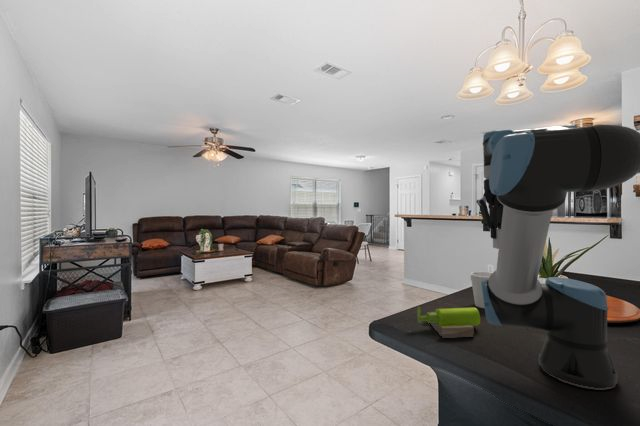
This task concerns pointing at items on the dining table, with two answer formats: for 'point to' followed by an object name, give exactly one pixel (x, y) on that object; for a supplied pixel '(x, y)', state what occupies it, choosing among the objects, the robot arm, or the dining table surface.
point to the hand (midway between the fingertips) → (497, 248)
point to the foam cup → (479, 286)
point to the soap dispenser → (451, 316)
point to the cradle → (457, 329)
